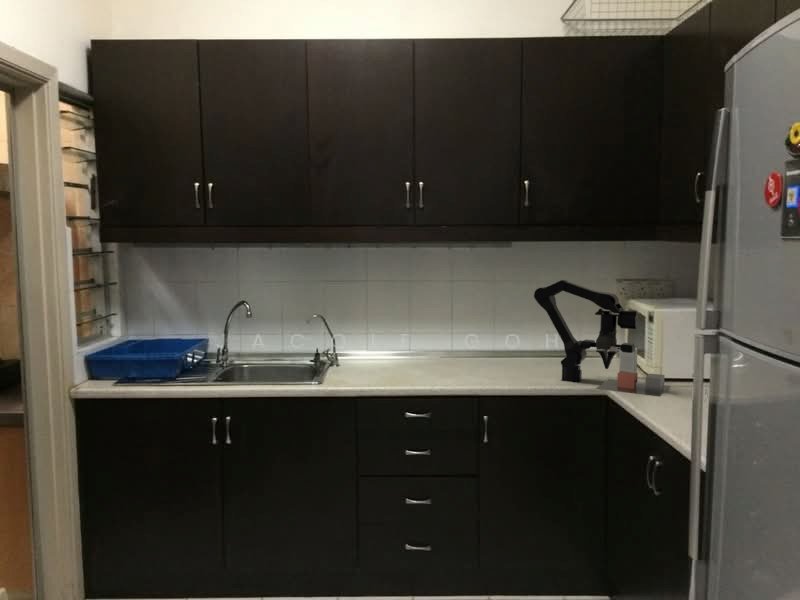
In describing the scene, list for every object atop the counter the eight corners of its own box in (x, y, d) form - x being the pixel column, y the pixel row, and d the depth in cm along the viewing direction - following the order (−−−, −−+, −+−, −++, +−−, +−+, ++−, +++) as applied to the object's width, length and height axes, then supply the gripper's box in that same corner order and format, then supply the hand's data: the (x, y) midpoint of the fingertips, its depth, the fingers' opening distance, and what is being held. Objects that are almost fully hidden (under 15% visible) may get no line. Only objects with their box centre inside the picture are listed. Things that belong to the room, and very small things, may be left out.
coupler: (595, 390, 231) (595, 375, 231) (609, 380, 248) (609, 366, 248) (659, 398, 220) (660, 382, 219) (669, 387, 237) (670, 372, 236)
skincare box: (636, 378, 253) (637, 348, 252) (634, 379, 250) (635, 349, 249) (621, 376, 257) (622, 346, 256) (618, 378, 253) (619, 348, 252)
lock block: (617, 386, 235) (617, 373, 234) (620, 384, 239) (620, 371, 238) (634, 388, 231) (634, 375, 231) (637, 386, 236) (637, 372, 235)
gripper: (577, 327, 235) (575, 369, 237) (629, 331, 226) (627, 375, 227) (585, 324, 245) (584, 364, 246) (636, 328, 235) (634, 370, 236)
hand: (606, 368), depth 239 cm, fingers closed
